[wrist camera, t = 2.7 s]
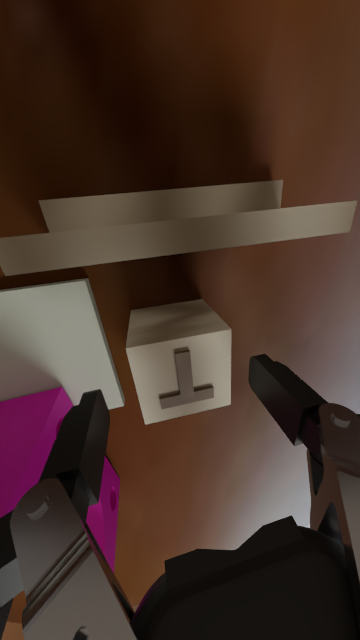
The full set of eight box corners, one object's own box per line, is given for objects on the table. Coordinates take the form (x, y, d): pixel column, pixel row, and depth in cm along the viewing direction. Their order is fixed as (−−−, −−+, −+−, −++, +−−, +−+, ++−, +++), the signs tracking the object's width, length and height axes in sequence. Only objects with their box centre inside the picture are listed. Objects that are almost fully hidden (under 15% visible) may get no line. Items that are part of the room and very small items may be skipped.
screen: (272, 183, 13) (370, 145, 7) (268, 233, 14) (349, 231, 9) (46, 203, 11) (-45, 171, 6) (65, 258, 12) (5, 275, 7)
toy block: (-28, 408, 14) (-172, 573, 7) (62, 386, 15) (1, 521, 8) (62, 496, 21) (29, 619, 15) (119, 479, 22) (112, 590, 15)
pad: (88, 277, 13) (85, 280, 12) (124, 398, 17) (123, 405, 17) (-123, 306, 11) (-141, 311, 11) (-23, 430, 16) (-31, 440, 15)
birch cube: (201, 298, 15) (232, 330, 10) (205, 356, 17) (231, 407, 12) (130, 309, 14) (125, 350, 9) (143, 368, 17) (145, 427, 12)
